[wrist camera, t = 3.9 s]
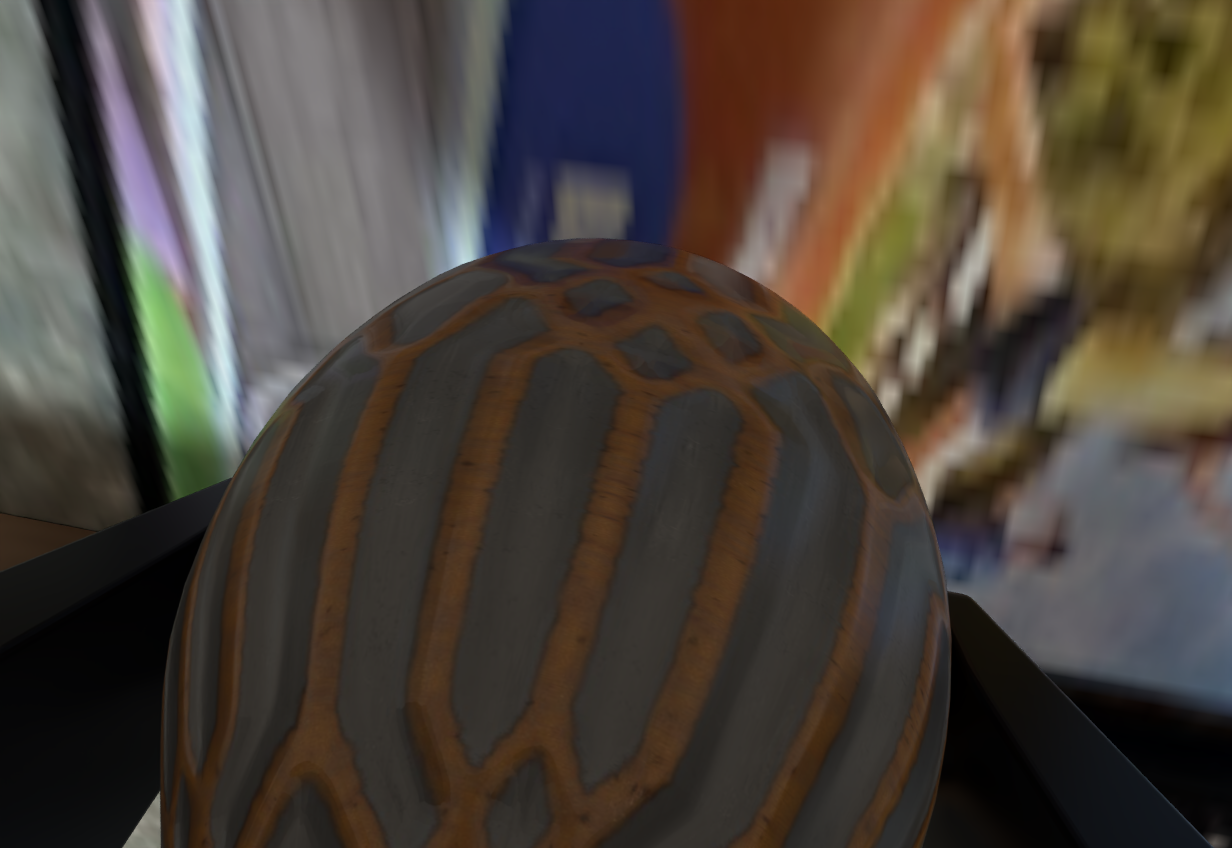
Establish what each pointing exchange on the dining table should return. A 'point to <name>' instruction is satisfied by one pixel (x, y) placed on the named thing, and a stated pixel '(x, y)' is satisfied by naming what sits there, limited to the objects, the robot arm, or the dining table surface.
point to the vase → (566, 582)
